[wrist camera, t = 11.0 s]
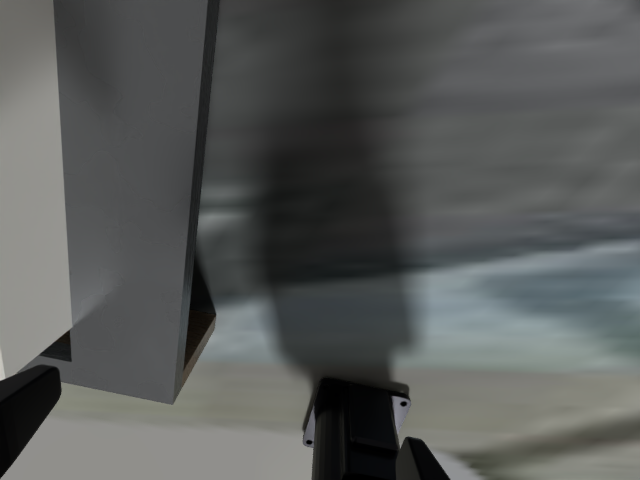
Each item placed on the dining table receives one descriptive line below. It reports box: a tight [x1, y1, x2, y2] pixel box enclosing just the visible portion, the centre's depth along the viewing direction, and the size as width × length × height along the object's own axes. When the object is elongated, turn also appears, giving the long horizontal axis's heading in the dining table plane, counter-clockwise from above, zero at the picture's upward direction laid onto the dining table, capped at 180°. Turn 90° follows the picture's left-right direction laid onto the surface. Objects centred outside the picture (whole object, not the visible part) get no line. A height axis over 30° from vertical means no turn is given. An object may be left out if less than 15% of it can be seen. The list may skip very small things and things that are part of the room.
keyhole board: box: [17, 0, 220, 405], centre depth 15 cm, size 22×14×6 cm, turn 167°
